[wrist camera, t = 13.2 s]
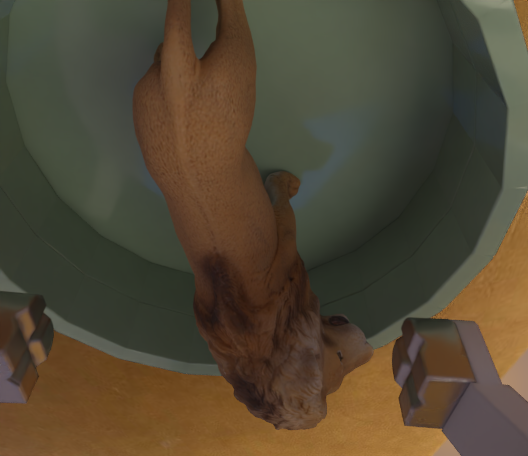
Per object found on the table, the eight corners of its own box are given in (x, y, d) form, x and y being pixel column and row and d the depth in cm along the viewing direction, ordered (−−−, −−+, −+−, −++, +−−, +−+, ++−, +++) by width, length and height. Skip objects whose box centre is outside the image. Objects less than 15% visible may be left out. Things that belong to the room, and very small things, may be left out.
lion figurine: (355, 243, 22) (395, 438, 15) (247, 273, 23) (236, 465, 16) (214, -137, 13) (149, -94, 6) (52, -54, 14) (-151, 58, 7)
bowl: (560, -150, 13) (696, -140, 9) (402, 289, 24) (430, 386, 20) (-94, -204, 13) (-277, -220, 8) (52, 270, 24) (4, 366, 20)
